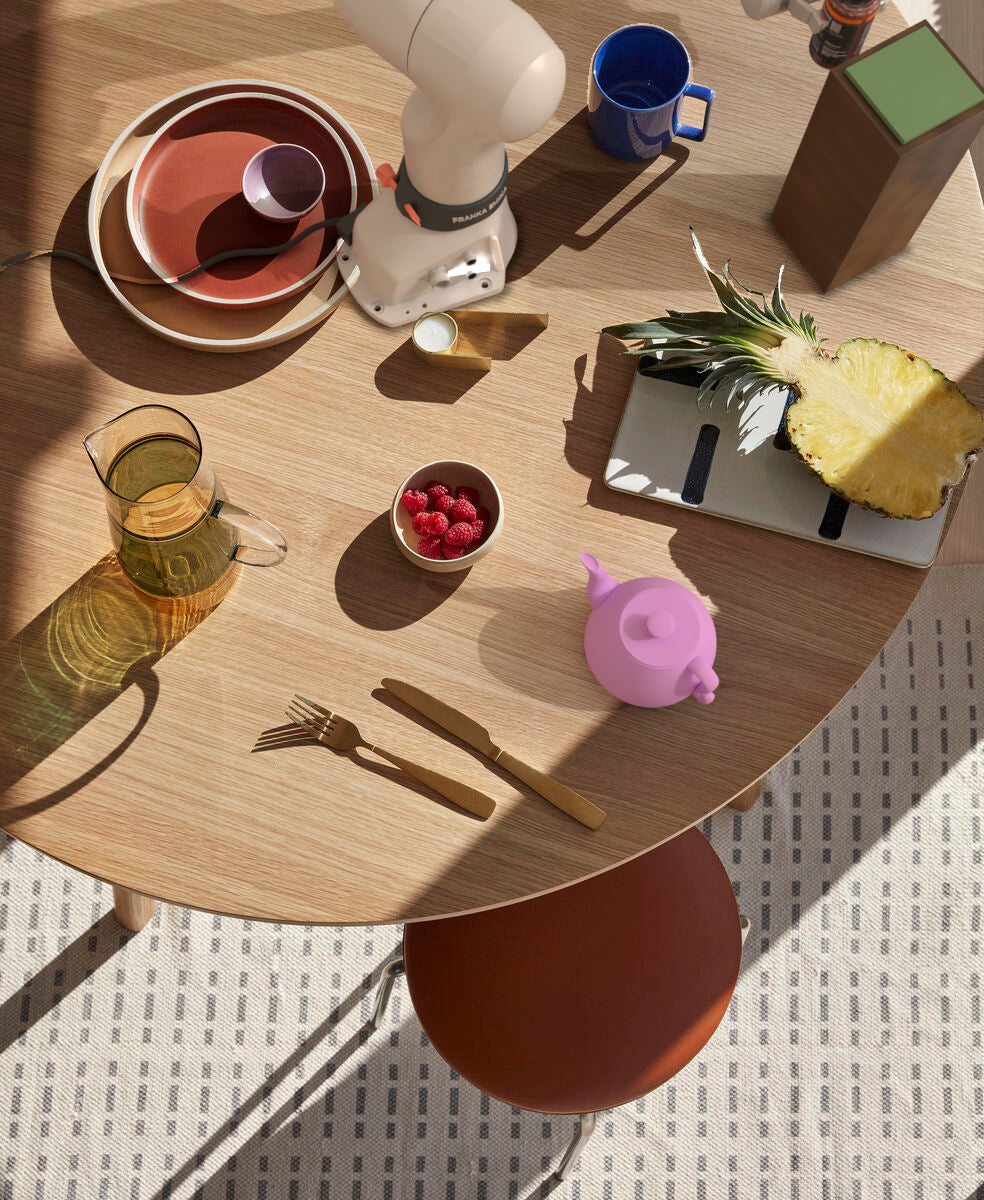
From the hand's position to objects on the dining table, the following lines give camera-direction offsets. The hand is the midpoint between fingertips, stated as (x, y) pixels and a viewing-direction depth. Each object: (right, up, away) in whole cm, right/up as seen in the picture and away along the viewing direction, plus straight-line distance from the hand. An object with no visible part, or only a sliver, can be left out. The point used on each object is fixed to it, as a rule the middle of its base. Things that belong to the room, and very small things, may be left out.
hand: (852, 18), depth 124 cm
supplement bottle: (0, -1, +6) cm, 6 cm away
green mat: (+2, -14, -13) cm, 19 cm away
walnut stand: (+2, -20, +12) cm, 24 cm away
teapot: (-24, -70, 0) cm, 74 cm away
